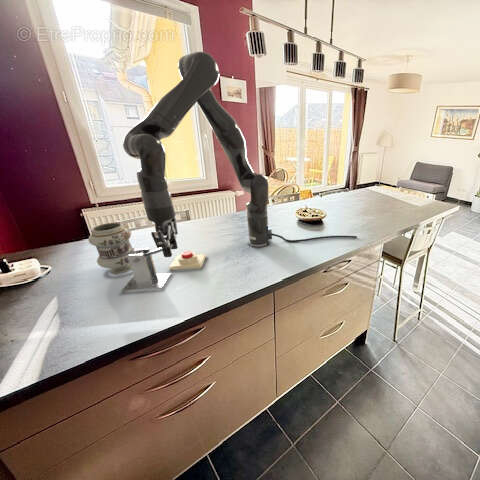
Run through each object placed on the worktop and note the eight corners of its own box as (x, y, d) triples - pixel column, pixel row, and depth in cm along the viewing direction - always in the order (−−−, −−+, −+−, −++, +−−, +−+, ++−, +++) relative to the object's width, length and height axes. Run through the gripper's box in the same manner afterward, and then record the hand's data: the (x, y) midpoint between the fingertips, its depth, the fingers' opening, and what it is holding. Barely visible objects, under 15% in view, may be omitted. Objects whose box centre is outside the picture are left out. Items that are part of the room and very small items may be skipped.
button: (193, 254, 98) (192, 250, 97) (191, 258, 95) (190, 254, 94) (184, 254, 97) (183, 251, 96) (181, 259, 94) (180, 255, 93)
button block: (206, 258, 102) (204, 250, 101) (201, 269, 94) (199, 260, 93) (178, 260, 100) (176, 251, 99) (170, 271, 92) (168, 262, 91)
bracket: (172, 275, 90) (163, 244, 85) (162, 290, 82) (153, 257, 77) (135, 278, 88) (124, 246, 82) (122, 293, 80) (109, 259, 74)
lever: (176, 245, 84) (172, 239, 82) (171, 252, 79) (167, 246, 78) (141, 257, 83) (137, 251, 82) (134, 264, 78) (129, 258, 77)
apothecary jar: (119, 261, 98) (104, 219, 90) (149, 263, 97) (136, 221, 90) (93, 278, 87) (73, 232, 79) (126, 280, 86) (110, 233, 79)
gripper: (163, 210, 69) (176, 262, 76) (179, 197, 82) (189, 242, 89) (133, 211, 67) (150, 264, 75) (154, 197, 80) (166, 244, 87)
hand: (171, 252), depth 82 cm, fingers closed on lever, 5 cm apart
